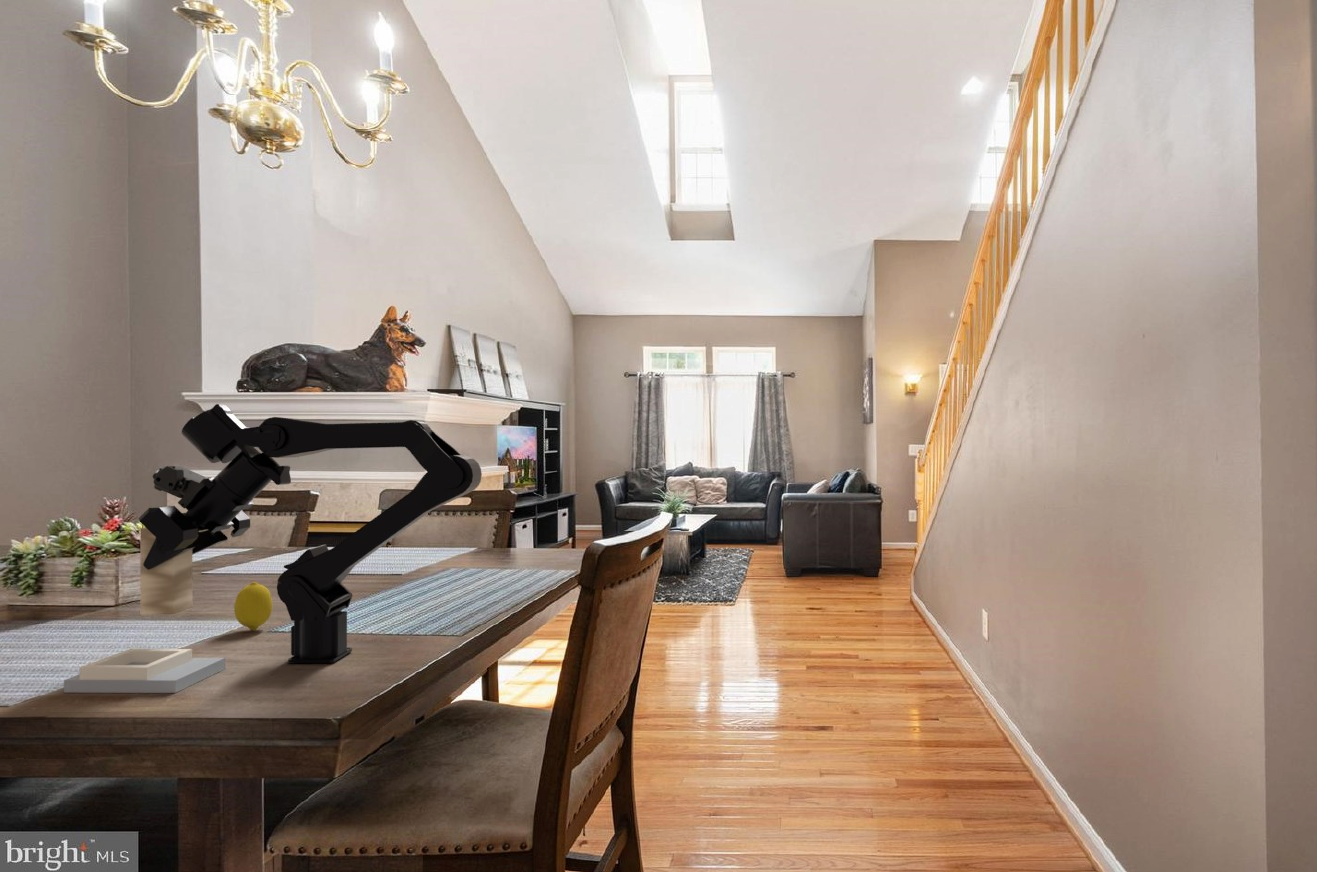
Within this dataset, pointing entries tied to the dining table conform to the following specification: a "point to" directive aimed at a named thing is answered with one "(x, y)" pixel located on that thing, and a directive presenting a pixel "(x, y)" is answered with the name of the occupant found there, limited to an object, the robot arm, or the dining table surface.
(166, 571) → the beech pillar
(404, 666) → the dining table surface
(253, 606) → the lemon
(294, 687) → the dining table surface
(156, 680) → the foundation plate
